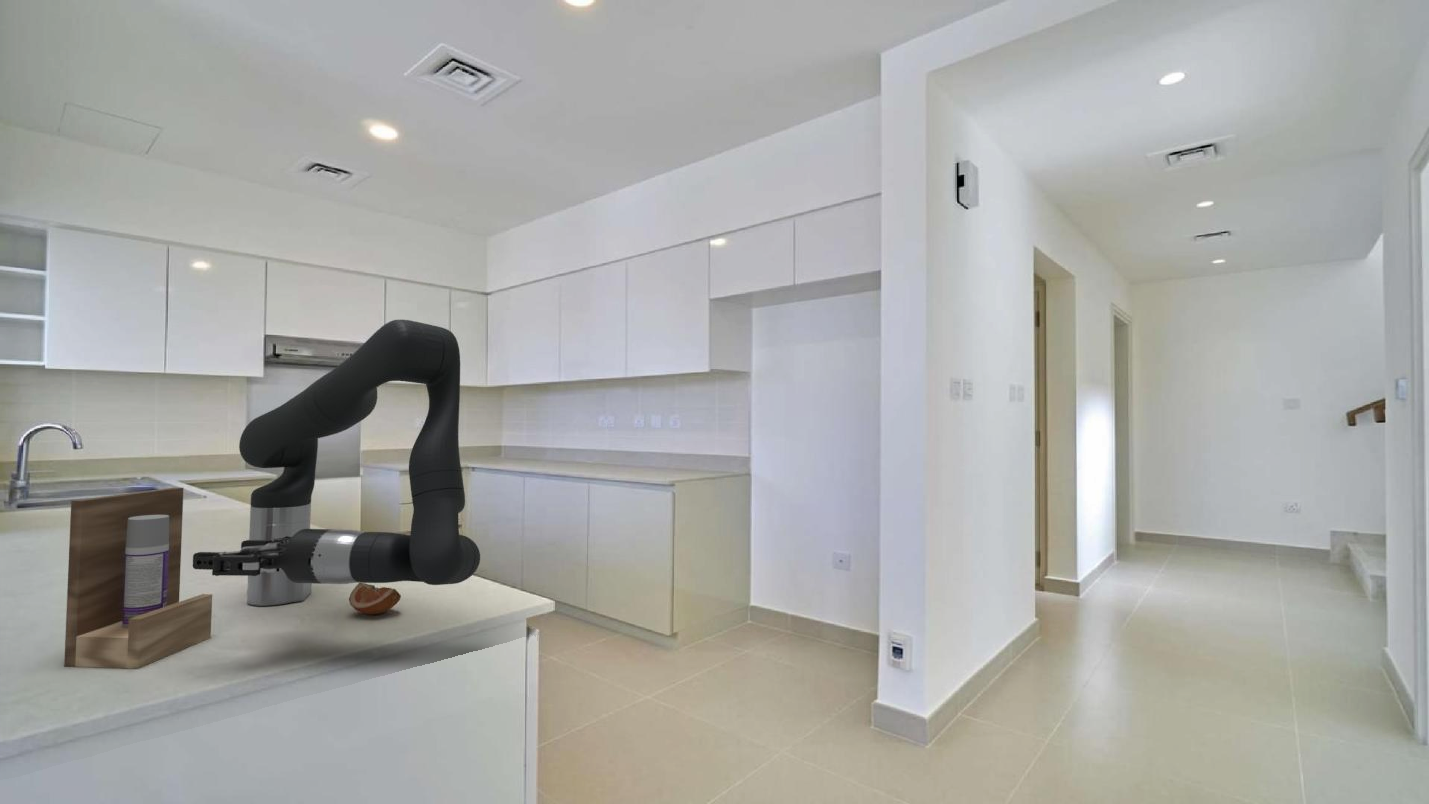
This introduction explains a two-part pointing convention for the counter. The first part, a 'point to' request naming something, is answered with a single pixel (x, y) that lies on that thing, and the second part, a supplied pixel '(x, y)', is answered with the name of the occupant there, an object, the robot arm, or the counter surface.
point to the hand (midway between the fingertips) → (219, 553)
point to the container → (145, 565)
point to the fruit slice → (373, 599)
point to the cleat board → (101, 586)
